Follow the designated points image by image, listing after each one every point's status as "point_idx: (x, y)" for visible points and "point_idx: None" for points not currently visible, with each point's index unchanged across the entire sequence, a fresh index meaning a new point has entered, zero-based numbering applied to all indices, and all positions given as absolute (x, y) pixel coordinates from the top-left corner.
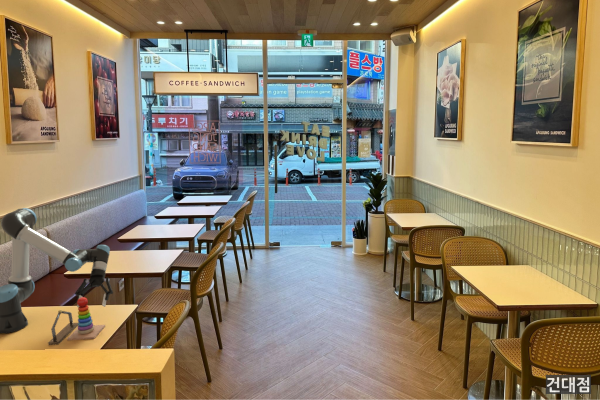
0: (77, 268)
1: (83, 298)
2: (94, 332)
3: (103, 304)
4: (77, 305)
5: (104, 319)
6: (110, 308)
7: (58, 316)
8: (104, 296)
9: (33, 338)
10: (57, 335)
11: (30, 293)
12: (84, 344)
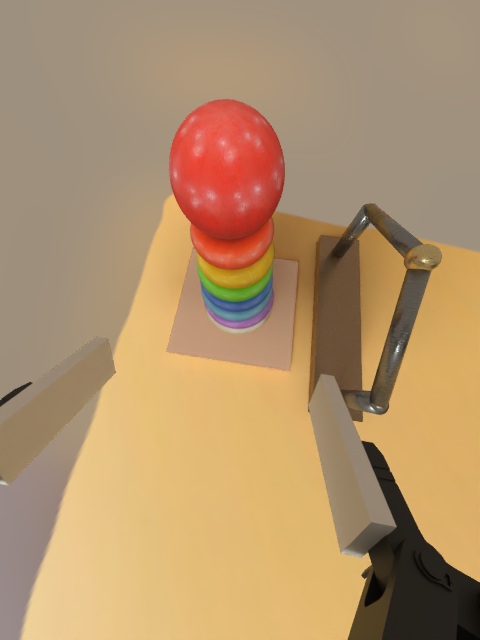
0: None
1: (198, 108)
2: (200, 284)
3: (93, 339)
4: (334, 383)
5: (186, 447)
6: None
7: (397, 233)
8: (15, 400)
9: (457, 323)
10: (351, 290)
11: None
12: None
